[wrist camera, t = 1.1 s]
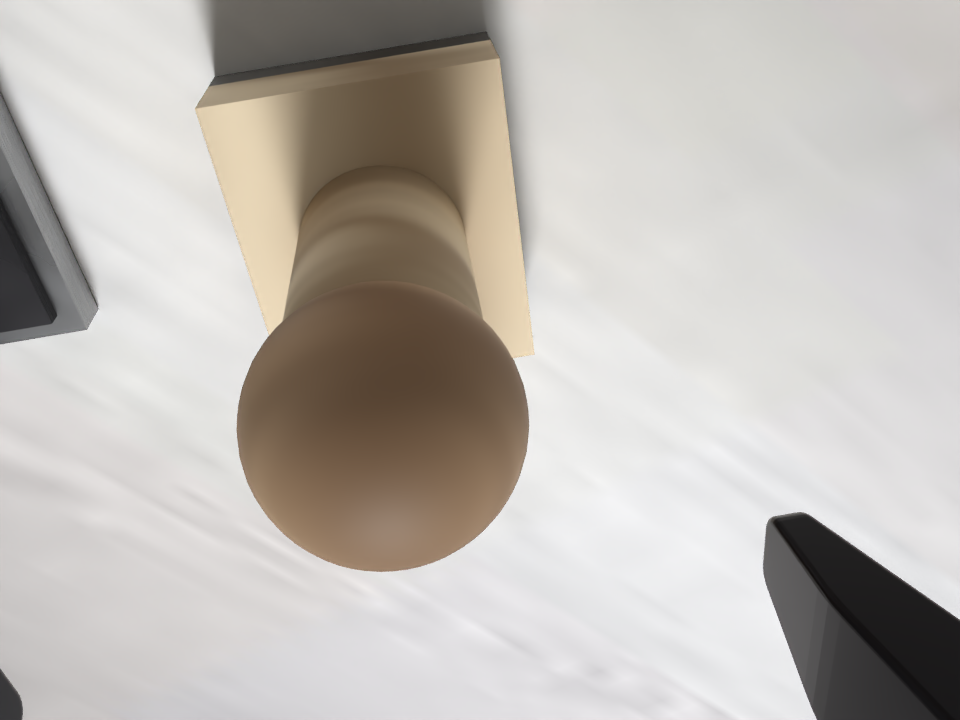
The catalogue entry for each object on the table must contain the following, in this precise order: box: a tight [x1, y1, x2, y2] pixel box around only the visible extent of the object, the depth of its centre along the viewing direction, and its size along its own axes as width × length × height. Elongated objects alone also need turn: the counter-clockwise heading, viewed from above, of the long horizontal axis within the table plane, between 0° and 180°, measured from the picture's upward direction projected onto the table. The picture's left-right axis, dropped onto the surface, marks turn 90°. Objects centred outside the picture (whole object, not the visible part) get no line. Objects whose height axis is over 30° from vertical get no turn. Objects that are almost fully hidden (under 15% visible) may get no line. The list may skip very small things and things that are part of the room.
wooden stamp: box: [195, 32, 534, 572], centre depth 16 cm, size 6×7×11 cm
